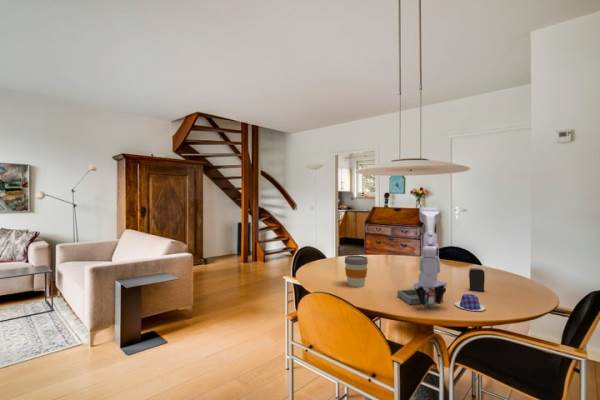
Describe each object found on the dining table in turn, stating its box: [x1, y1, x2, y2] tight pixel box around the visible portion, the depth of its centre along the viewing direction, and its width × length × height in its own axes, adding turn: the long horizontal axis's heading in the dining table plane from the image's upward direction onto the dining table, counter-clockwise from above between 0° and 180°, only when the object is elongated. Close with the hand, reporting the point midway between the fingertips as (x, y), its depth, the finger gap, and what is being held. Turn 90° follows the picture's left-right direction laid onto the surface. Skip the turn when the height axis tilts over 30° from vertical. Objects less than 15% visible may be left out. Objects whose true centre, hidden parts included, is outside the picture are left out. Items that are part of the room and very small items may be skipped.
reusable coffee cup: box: [344, 255, 369, 288], centre depth 166 cm, size 13×13×15 cm
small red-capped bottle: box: [425, 291, 436, 310], centre depth 132 cm, size 4×4×7 cm
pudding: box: [454, 293, 486, 312], centre depth 133 cm, size 12×12×5 cm
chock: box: [429, 287, 444, 304], centre depth 140 cm, size 5×6×7 cm
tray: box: [396, 288, 426, 306], centre depth 142 cm, size 12×11×3 cm
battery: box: [468, 267, 486, 292], centre depth 156 cm, size 7×4×11 cm, turn 70°
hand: (430, 303), depth 132 cm, fingers open, 7 cm apart
